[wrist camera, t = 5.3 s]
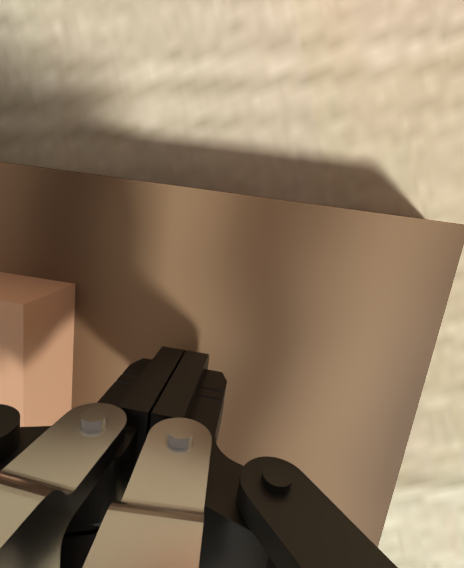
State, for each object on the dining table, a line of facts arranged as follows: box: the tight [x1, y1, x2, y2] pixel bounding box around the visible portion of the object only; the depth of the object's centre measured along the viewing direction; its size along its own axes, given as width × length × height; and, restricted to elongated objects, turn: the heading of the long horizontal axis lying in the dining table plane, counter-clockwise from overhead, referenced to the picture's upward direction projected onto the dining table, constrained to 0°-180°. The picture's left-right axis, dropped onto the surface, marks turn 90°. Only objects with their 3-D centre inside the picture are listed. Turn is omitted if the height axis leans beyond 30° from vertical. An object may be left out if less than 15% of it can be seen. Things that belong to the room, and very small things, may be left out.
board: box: [0, 162, 464, 548], centre depth 13 cm, size 23×12×2 cm, turn 83°
